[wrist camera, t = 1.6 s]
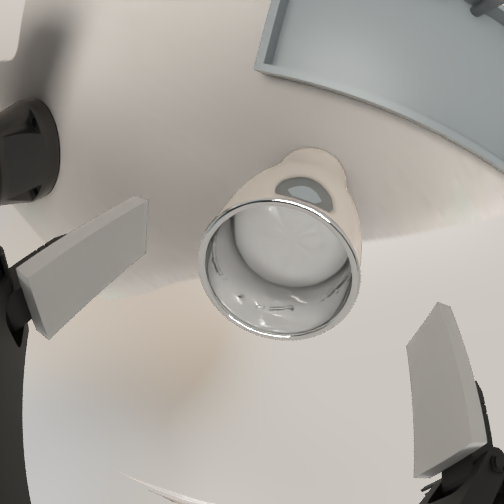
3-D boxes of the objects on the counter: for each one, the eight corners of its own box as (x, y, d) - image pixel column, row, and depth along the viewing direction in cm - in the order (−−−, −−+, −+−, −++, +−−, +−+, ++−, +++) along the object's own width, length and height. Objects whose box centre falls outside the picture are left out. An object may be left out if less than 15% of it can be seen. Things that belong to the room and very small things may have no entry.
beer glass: (363, 159, 22) (398, 234, 9) (335, 231, 25) (323, 362, 13) (282, 131, 22) (206, 166, 10) (262, 205, 26) (184, 310, 13)
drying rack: (264, 74, 20) (232, 60, 14) (300, -54, 13) (282, -102, 6) (505, 174, 18) (553, 204, 11) (533, 49, 10) (581, 44, 4)
